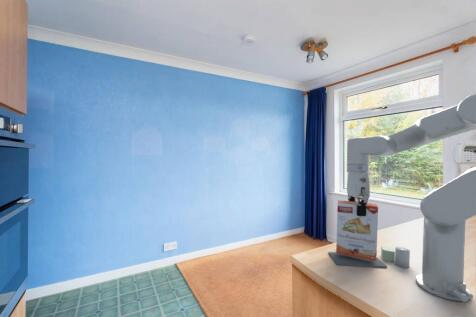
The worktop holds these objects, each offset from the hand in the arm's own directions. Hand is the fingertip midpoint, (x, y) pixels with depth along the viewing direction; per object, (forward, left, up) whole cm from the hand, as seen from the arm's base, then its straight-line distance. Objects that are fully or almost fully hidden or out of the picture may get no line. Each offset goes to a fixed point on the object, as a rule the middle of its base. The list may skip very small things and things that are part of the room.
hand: (356, 212), depth 87 cm
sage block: (+3, -14, -19) cm, 24 cm away
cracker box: (0, 0, -17) cm, 17 cm away
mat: (0, 0, -19) cm, 19 cm away
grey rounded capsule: (-2, -16, -19) cm, 25 cm away
